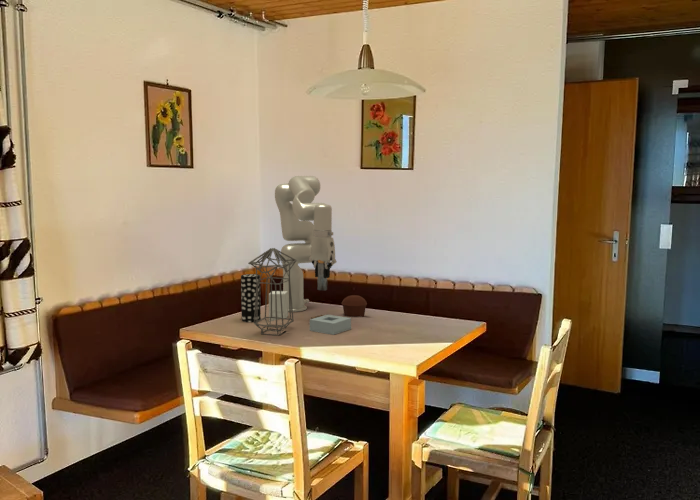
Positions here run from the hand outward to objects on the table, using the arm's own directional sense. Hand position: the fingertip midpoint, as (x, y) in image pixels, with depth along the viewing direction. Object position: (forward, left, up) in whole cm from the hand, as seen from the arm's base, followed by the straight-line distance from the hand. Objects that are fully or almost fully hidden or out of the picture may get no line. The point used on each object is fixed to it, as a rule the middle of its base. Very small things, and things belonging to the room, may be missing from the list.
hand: (322, 276), depth 273 cm
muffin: (-22, +1, -21) cm, 31 cm away
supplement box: (+2, -23, -21) cm, 31 cm away
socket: (+8, +10, -21) cm, 25 cm away
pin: (0, 0, -5) cm, 5 cm away
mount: (0, 0, -21) cm, 21 cm away
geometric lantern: (+22, -8, -21) cm, 32 cm away
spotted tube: (+9, -33, -21) cm, 40 cm away
